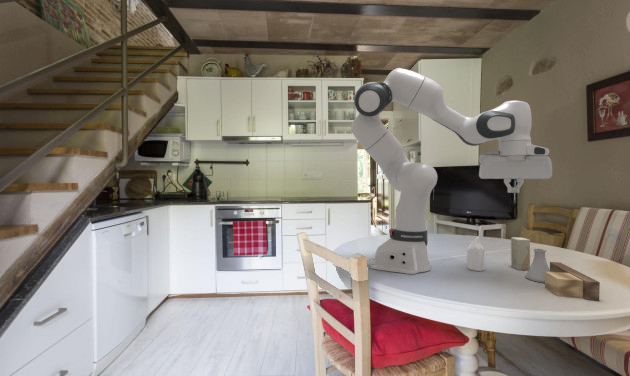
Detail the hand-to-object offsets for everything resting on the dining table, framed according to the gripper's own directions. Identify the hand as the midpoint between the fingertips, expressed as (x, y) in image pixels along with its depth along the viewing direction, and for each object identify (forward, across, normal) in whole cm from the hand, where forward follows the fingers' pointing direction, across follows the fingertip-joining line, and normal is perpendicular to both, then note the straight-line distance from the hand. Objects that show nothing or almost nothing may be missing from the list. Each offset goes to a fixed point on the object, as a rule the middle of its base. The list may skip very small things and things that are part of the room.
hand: (513, 192), depth 97 cm
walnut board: (+28, +14, -5) cm, 32 cm away
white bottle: (+29, -9, +8) cm, 31 cm away
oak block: (+28, +10, -10) cm, 32 cm away
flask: (+28, +8, 0) cm, 30 cm away
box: (+28, +7, +13) cm, 32 cm away
